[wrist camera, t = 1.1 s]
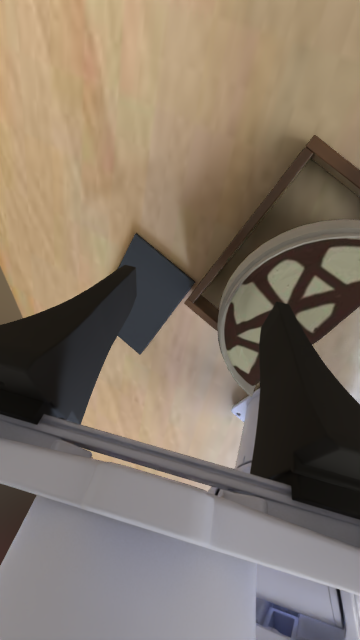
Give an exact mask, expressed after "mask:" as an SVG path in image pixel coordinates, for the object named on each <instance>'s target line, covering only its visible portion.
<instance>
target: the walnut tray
mask: <svg viewBox="0 0 360 640" xmlns="http://www.w3.org/2000/svg"><path fill="white" fill-rule="evenodd" d="M310 159H312V160H313V161H315V162H316V163H317V164H318V165H320V166H321V167H322V168H323V169H325V170H326V171H327V172H329V173H330V174H331V175H332V176H334V177H335V178H336V179H337V180H339V181H340V182H341V183H342V184H344V185H345V186H346V187H347V188H349V189H350V190H351V191H352V192H354V193H355V194H356V195H357V196H359V197H360V170H359V169H357V168H356V167H355V166H354V165H352V164H351V163H350V162H349V161H347V160H346V159H345V158H344V157H342V156H341V155H340V154H339V153H337V152H336V151H335V150H333V149H332V148H331V147H330V146H328V145H327V144H326V143H325V142H323V141H322V140H321V139H320V138H318V137H317V136H316V135H314V136H313V137H312V139H311V140H310V141H309V142H308V144H307V145H306V147H305V148H304V149H303V150H302V152H301V153H300V154H299V155H298V157H297V158H296V159H295V161H294V162H293V163H292V164H291V166H290V167H289V168H288V170H287V171H286V172H285V173H284V175H283V176H282V177H281V179H280V180H279V181H278V183H277V184H276V185H275V186H274V188H273V189H272V190H271V192H270V193H269V194H268V195H267V197H266V198H265V199H264V201H263V202H262V203H261V205H260V206H259V207H258V208H257V210H256V211H255V212H254V214H253V215H252V216H251V217H250V219H249V220H248V221H247V223H246V224H245V225H244V226H243V228H242V229H241V230H240V232H239V233H238V234H237V236H236V237H235V238H234V239H233V241H232V242H231V243H230V245H229V246H228V247H227V248H226V250H225V251H224V252H223V254H222V255H221V256H220V258H219V259H218V260H217V261H216V263H215V264H214V265H213V267H212V268H211V269H210V270H209V272H208V273H207V274H206V276H205V277H204V278H203V279H202V281H201V282H200V283H199V285H198V286H197V287H196V289H195V290H194V291H193V292H192V294H191V295H190V296H189V298H188V299H187V300H186V301H185V303H184V304H186V305H187V306H188V307H189V308H190V309H192V310H193V311H194V312H195V313H196V314H197V315H199V316H200V317H201V318H202V319H203V320H205V321H206V322H207V323H208V324H209V325H211V326H212V327H213V328H214V329H215V330H217V331H218V328H217V326H218V315H219V309H217V308H216V307H215V306H214V305H212V304H211V303H210V302H209V301H208V300H206V299H205V298H204V297H203V296H202V295H201V294H202V293H203V292H204V291H205V289H206V288H207V287H208V286H209V284H210V283H211V282H212V281H213V279H214V278H215V277H216V276H217V274H218V273H219V272H220V271H221V270H222V268H223V267H224V266H225V265H226V263H227V262H228V261H229V260H230V258H231V257H232V256H233V255H234V253H235V252H236V251H237V250H238V248H239V247H240V246H241V245H242V244H243V242H244V241H245V240H246V239H247V237H248V236H249V235H250V234H251V232H252V231H253V230H254V229H255V227H256V226H257V225H258V224H259V222H260V221H261V220H262V219H263V218H264V216H265V215H266V214H267V213H268V211H269V210H270V209H271V208H272V206H273V205H274V204H275V203H276V201H277V200H278V199H279V198H280V196H281V195H282V194H283V193H284V192H285V190H286V189H287V188H288V187H289V185H290V184H291V183H292V182H293V180H294V179H295V178H296V177H297V175H298V174H299V173H300V172H301V170H302V169H303V168H304V167H305V166H306V164H307V163H308V162H309V161H310Z"/></svg>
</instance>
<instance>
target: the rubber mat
mask: <svg viewBox="0 0 360 640" xmlns="http://www.w3.org/2000/svg"><path fill="white" fill-rule="evenodd" d="M123 265H128V266H133V267H136V285H137V297H136V300H135V303H134V305H133V308H132V310H131V312H130V314H129V316H128V318H127V320H126V321H125V323H124V325H123V327H122V329H121V330H120V332H119V334H118V336H119V337H120V338H121V339H122V340H123V341H124V342H126V343H127V344H128V345H129V346H130V347H132V348H133V349H134V350H135V351H136V352H137V353H139V354H141V353H142V352H143V350H144V349H145V348H146V346H147V345H148V344H149V342H150V341H151V340H152V339H153V337H154V336H155V335H156V333H157V332H158V331H159V329H160V328H161V327H162V325H163V324H164V323H165V321H166V320H167V319H168V317H169V316H170V315H171V313H172V312H173V311H174V309H175V308H176V307H177V306H178V304H179V303H180V302H181V300H182V299H183V298H184V296H185V295H186V294H187V292H188V291H189V290H190V288H191V287H192V286H193V284H194V283H195V281H193V280H192V279H191V278H190V277H189V276H187V275H186V274H185V273H184V272H182V271H181V270H180V269H179V268H178V267H176V266H175V265H174V264H173V263H172V262H170V261H169V260H168V259H167V258H166V257H164V256H163V255H162V254H161V253H160V252H158V251H157V250H156V249H155V248H154V247H152V246H151V245H150V244H149V243H148V242H146V241H145V240H144V239H143V238H142V237H140V236H139V235H138V234H137V233H136V234H135V235H134V237H133V239H132V241H131V243H130V245H129V247H128V249H127V251H126V253H125V255H124V257H123V260H122V262H121V264H120V266H119V268H120V267H122V266H123ZM119 268H118V269H119Z"/></svg>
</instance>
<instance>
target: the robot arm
mask: <svg viewBox="0 0 360 640" xmlns="http://www.w3.org/2000/svg"><path fill="white" fill-rule="evenodd" d="M136 297H137V285H136V267H133V266H128V265H123V266H122V267H120V268H119V269H117V270H116V271H115V272H113V273H112V274H110V275H109V276H107V277H106V278H105V279H103V280H102V281H100V282H99V283H97V284H96V285H94V286H93V287H91V288H89V289H88V290H86V291H84V292H83V293H81V294H79V295H77V296H76V297H74V298H72V299H70V300H68V301H66V302H64V303H62V304H59V305H57V306H55V307H52V308H50V309H47V310H45V311H42V312H40V313H38V314H35V315H32V316H29V317H26V318H23V319H20V320H17V321H14V322H10V323H7V324H3V325H0V483H1V484H4V485H8V486H11V487H14V488H18V489H21V490H24V491H27V492H30V493H33V494H36V495H37V496H36V498H35V500H34V502H33V504H32V506H31V508H30V510H29V512H28V514H27V516H26V518H25V519H24V521H23V523H22V525H21V527H20V529H19V531H18V533H17V535H16V537H15V539H14V541H13V543H12V545H11V546H10V548H9V551H8V552H7V554H6V556H5V558H4V560H3V562H2V564H1V566H0V640H360V404H359V403H358V402H357V401H356V400H355V399H354V398H353V397H352V396H351V395H350V394H349V393H348V392H347V390H346V389H345V388H344V387H343V386H342V385H341V384H340V383H339V381H338V380H337V379H336V378H335V377H334V375H333V374H332V373H331V371H330V370H329V369H328V368H327V366H326V365H325V364H324V362H323V361H322V360H321V358H320V357H319V355H318V354H317V352H316V351H315V349H314V348H313V346H312V344H311V343H310V341H309V340H308V338H307V336H306V334H305V333H304V331H303V329H302V327H301V326H300V324H299V322H298V320H297V318H296V316H295V315H294V313H293V311H292V309H291V307H290V305H289V304H285V303H281V302H277V301H276V303H275V305H274V307H273V308H272V310H271V312H270V313H269V315H268V317H267V318H266V320H265V322H264V324H263V325H262V327H261V332H260V341H259V365H260V388H259V389H257V390H256V391H255V392H253V395H252V397H250V396H247V397H246V398H244V399H243V400H242V401H240V402H239V403H237V404H236V405H234V406H233V407H232V409H231V411H232V413H234V414H235V415H236V416H237V417H238V418H239V419H241V420H242V421H243V422H244V426H243V431H242V436H241V441H240V446H239V451H238V456H237V461H236V466H235V469H232V468H228V467H225V466H221V465H218V464H214V463H211V462H207V461H204V460H201V459H197V458H194V457H190V456H187V455H183V454H180V453H176V452H173V451H170V450H166V449H163V448H159V447H156V446H152V445H149V444H145V443H142V442H139V441H135V440H132V439H128V438H125V437H121V436H118V435H114V434H111V433H108V432H104V431H101V430H97V429H94V428H90V427H87V426H83V425H81V422H82V419H83V416H84V413H85V410H86V407H87V405H88V402H89V399H90V396H91V394H92V391H93V389H94V386H95V383H96V381H97V378H98V376H99V373H100V371H101V369H102V366H103V364H104V361H105V359H106V357H107V355H108V352H109V350H110V348H111V346H112V344H113V343H114V341H115V339H116V337H117V336H118V334H119V332H120V330H121V329H122V327H123V325H124V323H125V321H126V320H127V318H128V316H129V314H130V312H131V310H132V308H133V305H134V303H135V300H136ZM238 412H239V413H238ZM80 447H81V448H80ZM82 448H84V449H82ZM85 449H87V450H91V451H94V452H98V453H101V454H104V455H108V456H111V457H114V458H118V459H121V460H125V461H128V462H131V463H135V464H138V465H141V466H145V467H148V468H152V469H155V470H158V471H162V472H165V473H168V474H172V475H175V476H179V477H182V478H185V479H189V480H192V481H195V482H199V483H202V484H206V485H209V486H212V487H211V488H210V489H209V491H208V492H207V491H205V490H203V489H200V488H197V487H194V486H191V485H188V484H185V483H181V482H178V481H175V480H171V479H168V478H165V477H161V476H158V475H155V474H151V473H148V472H144V471H141V470H138V469H134V468H131V467H128V466H124V465H120V464H116V463H112V462H104V461H100V460H95V459H93V458H92V453H91V452H90V451H87V450H85Z"/></svg>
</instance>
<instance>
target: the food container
mask: <svg viewBox="0 0 360 640" xmlns="http://www.w3.org/2000/svg"><path fill="white" fill-rule="evenodd" d="M276 301H277V302H281V303H285V304H289V305H290V307H291V309H292V311H293V313H294V315H295V316H296V318H297V320H298V322H299V324H300V326H301V327H302V329H303V331H304V333H305V334H306V336H307V338H308V340H309V341H310V343H311V344H314V343H315V342H317V341H318V340H320V339H321V338H322V337H323V336H325V335H326V334H327V333H328V332H329V331H331V330H332V329H333V328H334V327H335V326H336V325H338V324H339V323H340V322H341V321H342V320H344V319H345V318H346V317H347V316H348V315H350V314H351V313H352V312H353V311H355V310H356V309H357V308H358V307H360V220H351V219H340V220H329V221H320V222H316V223H312V224H308V225H303V226H299V227H297V228H294V229H292V230H289V231H287V232H284V233H282V234H280V235H278V236H276V237H274V238H272V239H271V240H269V241H267V242H265V243H264V244H262V245H261V246H260V247H258V248H257V249H256V250H255V251H253V252H252V253H251V254H249V256H248V257H247V258H246V259H245V260H244V261H243V262H242V263H241V264H240V265H239V266H238V267H237V269H236V270H235V272H234V273H233V275H232V276H231V277H230V279H229V281H228V283H227V285H226V287H225V289H224V291H223V295H222V298H221V302H220V306H219V315H218V326H217V328H218V341H219V345H220V349H221V353H222V355H223V358H224V361H225V363H226V366H227V368H228V370H229V371H230V373H231V375H232V376H233V378H234V379H235V381H236V382H237V383H238V384H239V386H240V387H241V388H242V389H243V390H244V391H245V392H246V393H247V394H248V395H249V396H250V397H252V395H253V392H254V388H255V385H256V384H257V383H258V382H260V365H259V341H260V332H261V327H262V325H263V324H264V322H265V320H266V318H267V317H268V315H269V313H270V312H271V310H272V308H273V307H274V305H275V303H276Z"/></svg>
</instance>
